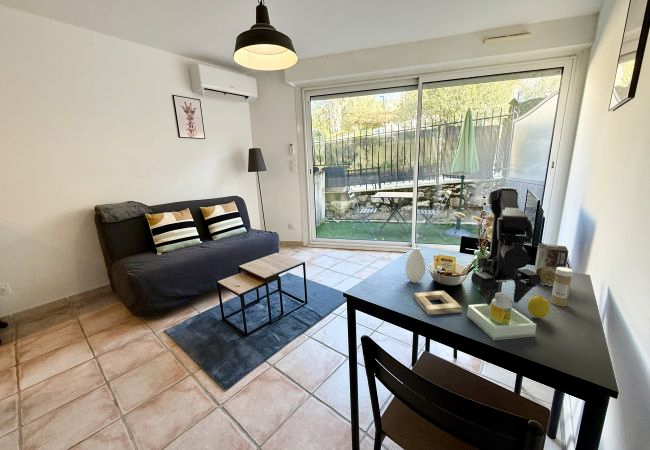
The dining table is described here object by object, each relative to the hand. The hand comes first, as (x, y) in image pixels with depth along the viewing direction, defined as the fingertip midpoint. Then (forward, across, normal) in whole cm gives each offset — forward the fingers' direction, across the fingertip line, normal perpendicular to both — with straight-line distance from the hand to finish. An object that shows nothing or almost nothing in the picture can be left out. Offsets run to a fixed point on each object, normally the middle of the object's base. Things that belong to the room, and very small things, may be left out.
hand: (501, 303), depth 86 cm
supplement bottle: (+7, 0, 0) cm, 7 cm away
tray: (+8, 0, 0) cm, 8 cm away
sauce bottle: (+8, +13, -34) cm, 37 cm away
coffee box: (+8, -40, -24) cm, 47 cm away
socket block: (+8, +13, -15) cm, 21 cm away
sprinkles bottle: (+8, -30, -9) cm, 32 cm away
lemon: (+8, -15, -2) cm, 17 cm away
